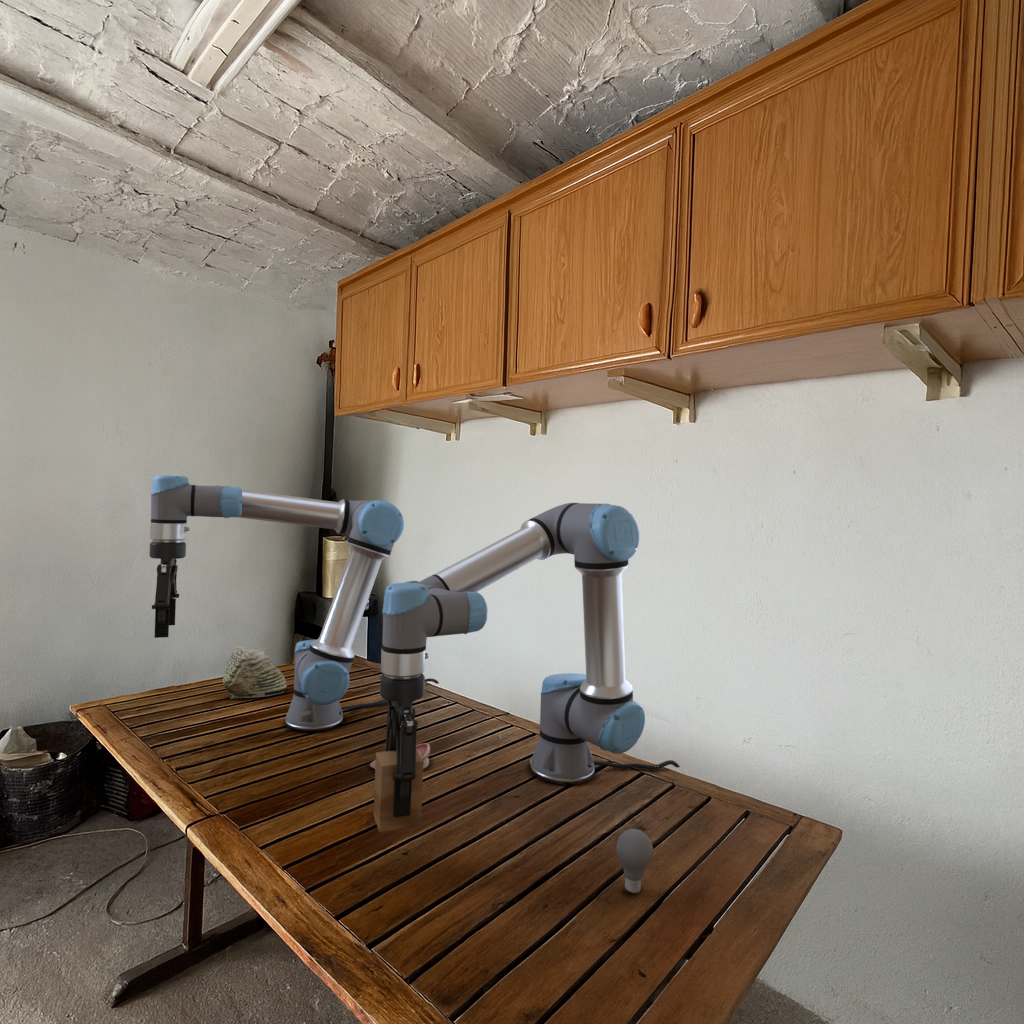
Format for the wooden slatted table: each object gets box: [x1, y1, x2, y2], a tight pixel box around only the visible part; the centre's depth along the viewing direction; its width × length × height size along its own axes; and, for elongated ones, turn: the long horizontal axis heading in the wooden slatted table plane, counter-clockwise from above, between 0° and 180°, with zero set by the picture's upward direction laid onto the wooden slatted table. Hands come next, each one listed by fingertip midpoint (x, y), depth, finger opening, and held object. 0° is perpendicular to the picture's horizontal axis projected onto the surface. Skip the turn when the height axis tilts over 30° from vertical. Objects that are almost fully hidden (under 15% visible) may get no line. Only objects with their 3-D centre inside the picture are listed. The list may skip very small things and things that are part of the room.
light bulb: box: [615, 828, 654, 894], centre depth 106 cm, size 6×6×10 cm
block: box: [373, 750, 424, 833], centre depth 110 cm, size 7×6×11 cm
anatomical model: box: [369, 742, 431, 770], centre depth 151 cm, size 13×4×12 cm
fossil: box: [222, 646, 288, 699], centre depth 198 cm, size 9×18×15 cm, turn 132°
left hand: (165, 631), depth 149 cm, fingers open, 13 cm apart
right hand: (397, 805), depth 110 cm, fingers closed on block, 6 cm apart
